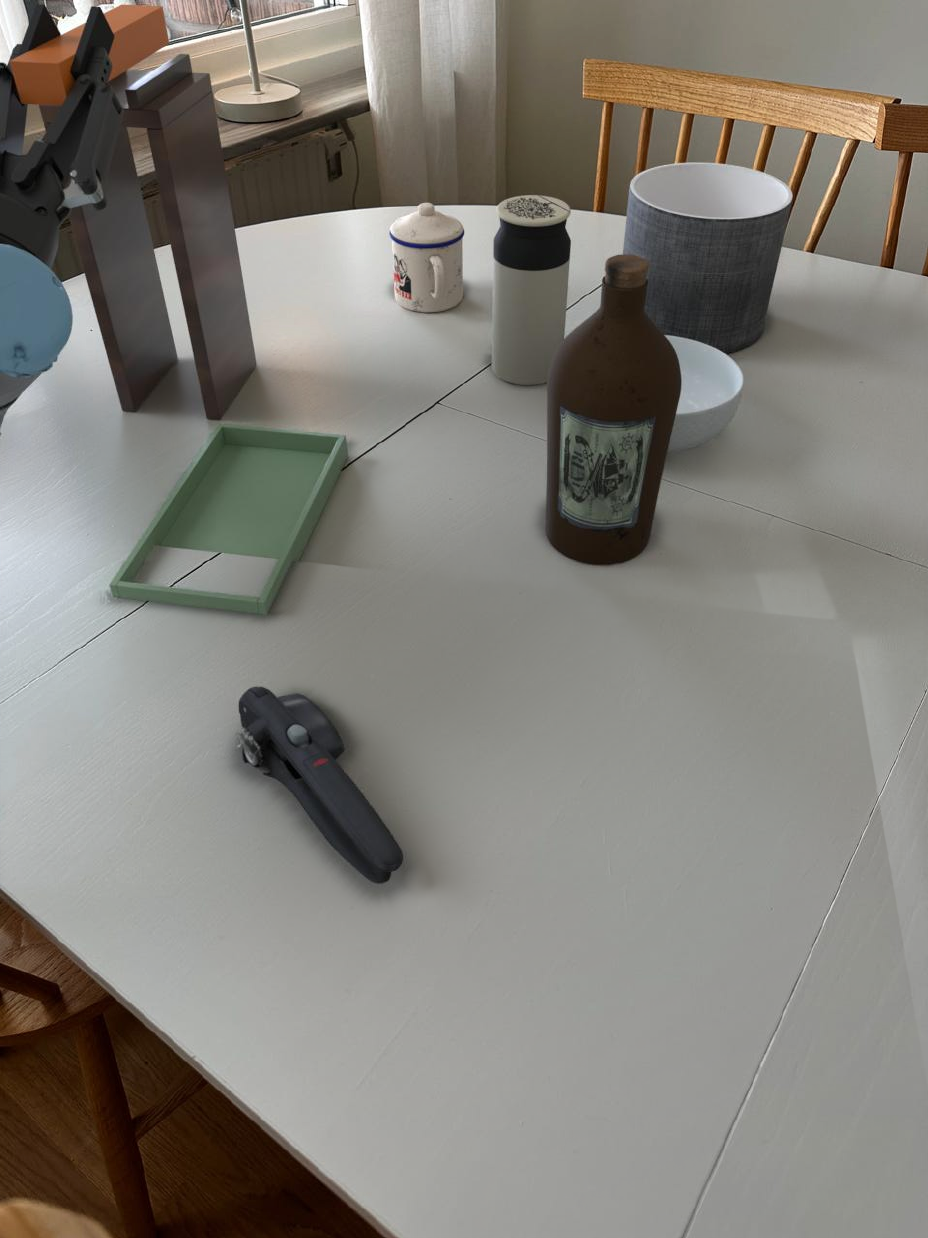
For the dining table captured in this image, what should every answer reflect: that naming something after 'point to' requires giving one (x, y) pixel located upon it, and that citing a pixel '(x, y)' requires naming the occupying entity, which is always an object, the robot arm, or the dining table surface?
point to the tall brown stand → (197, 237)
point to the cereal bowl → (703, 393)
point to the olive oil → (609, 423)
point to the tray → (241, 508)
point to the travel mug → (529, 287)
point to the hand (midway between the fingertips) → (75, 20)
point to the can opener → (316, 777)
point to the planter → (708, 248)
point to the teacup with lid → (427, 260)
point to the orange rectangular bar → (49, 64)
